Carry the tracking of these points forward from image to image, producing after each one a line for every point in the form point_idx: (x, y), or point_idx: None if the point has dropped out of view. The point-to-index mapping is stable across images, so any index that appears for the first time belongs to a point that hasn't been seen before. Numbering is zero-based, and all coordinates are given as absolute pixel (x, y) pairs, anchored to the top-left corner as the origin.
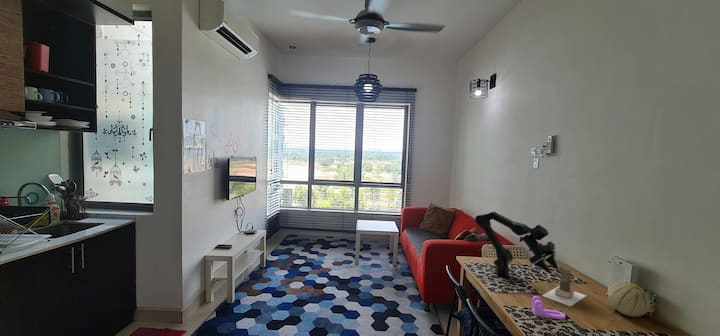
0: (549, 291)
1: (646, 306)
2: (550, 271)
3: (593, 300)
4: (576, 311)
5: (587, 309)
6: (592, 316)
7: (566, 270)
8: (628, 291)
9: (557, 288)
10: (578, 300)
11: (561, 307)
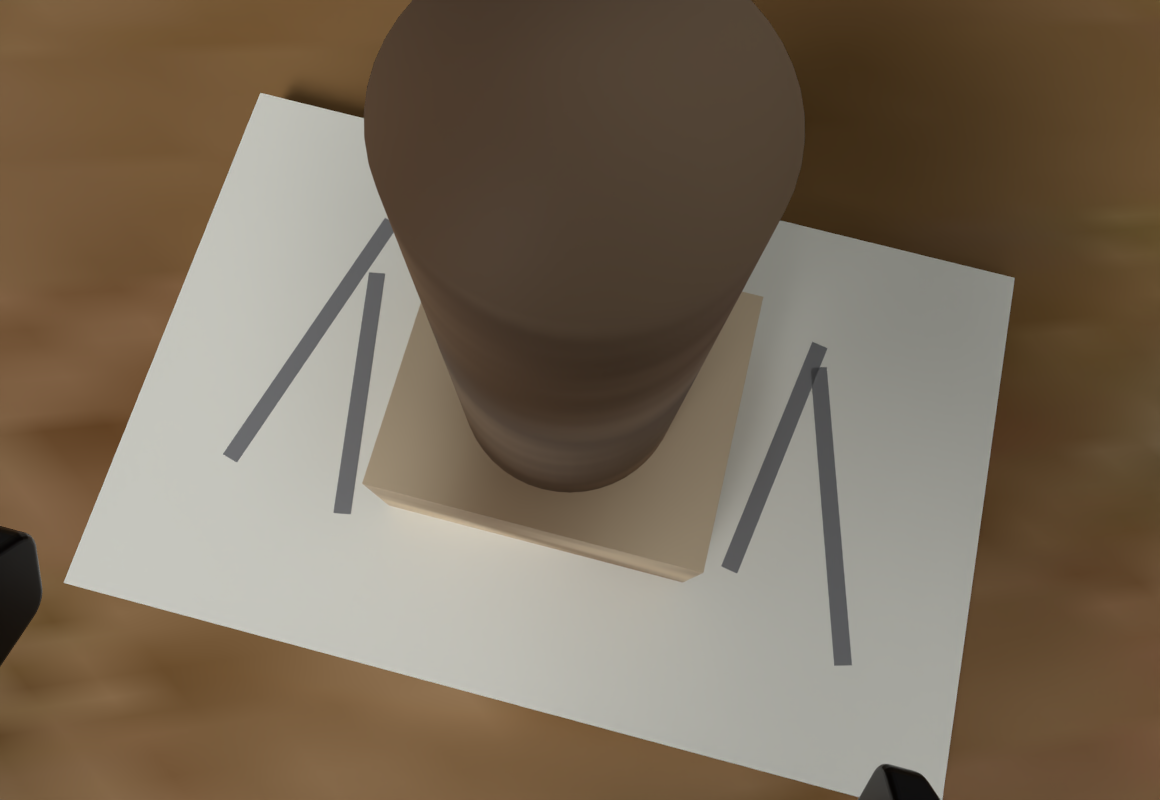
0: (567, 712)
1: None
2: (898, 776)
3: (335, 22)
4: (1036, 205)
5: (810, 79)
6: (1020, 14)
7: (491, 100)
8: None
9: (605, 535)
10: None
11: (1085, 416)
